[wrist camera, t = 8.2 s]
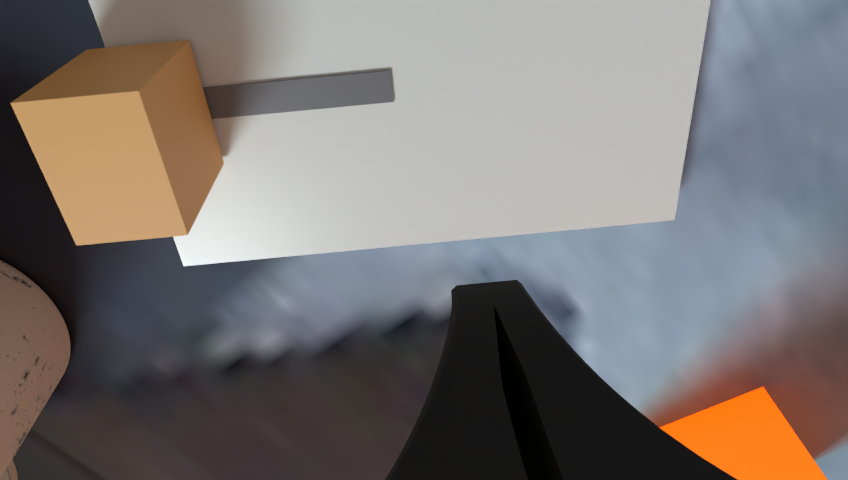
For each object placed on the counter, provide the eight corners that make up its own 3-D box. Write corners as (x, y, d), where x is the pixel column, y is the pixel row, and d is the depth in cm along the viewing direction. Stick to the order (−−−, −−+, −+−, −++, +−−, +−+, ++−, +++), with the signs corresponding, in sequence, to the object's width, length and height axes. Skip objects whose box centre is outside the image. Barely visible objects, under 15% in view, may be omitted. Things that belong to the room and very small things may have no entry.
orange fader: (189, 39, 18) (138, 90, 14) (224, 163, 20) (187, 235, 17) (87, 49, 18) (10, 103, 14) (133, 171, 20) (76, 245, 17)
